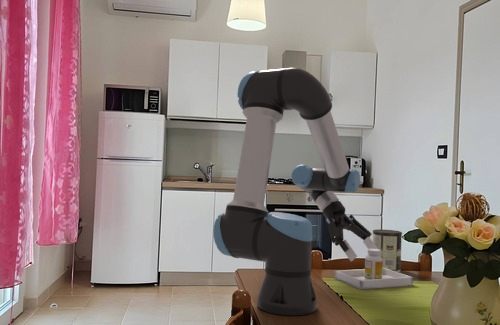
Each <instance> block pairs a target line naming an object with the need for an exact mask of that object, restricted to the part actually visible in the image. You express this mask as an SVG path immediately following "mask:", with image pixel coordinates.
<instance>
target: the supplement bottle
mask: <svg viewBox="0 0 500 325" xmlns="http://www.w3.org/2000/svg"><path fill="white" fill-rule="evenodd" d="M367 254H368V255H365V258H364V259H365V260H364V269H365V279H366V280H373V279H382V257H380V254H381V250H379V249H368V248H367Z"/></svg>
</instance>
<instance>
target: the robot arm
mask: <svg viewBox="0 0 500 325" xmlns="http://www.w3.org/2000/svg"><path fill="white" fill-rule="evenodd" d="M237 98H238V100H237V103H238V105H239V107H240V108H241V110H242V114H243V116H244V117H245V118H246V121H245V122H246V123H245V129H244V134H243V139H242V145H241V150H240V151H241V152H240V158H239V161H238V162H239V163H238V170H237V175H236V181H235V187H234V192H233V193H234V194H233V199H232V200H231V201H230V202H229V203H227V204H226V207H225V211H224V212H222V213H219V215H218V216H217V218H216V219H215V220H214V222H213V223H214V224H213V230H212V231H213V234H212V235H213V239H214V243H215V246H216V248H217V250H218V251H219V252H220V253H221V254H222V255H224V256H228V257H232V258H235V259H245V260H250V261H257V262H264V264H265V265H264V277H263V279H262V282H261V285H260V287H259V291H258V293H257V296H256V306H257V307H258V309H260V310H262V311H263V312H266V313H270V314H275V315H279V316H280V315H281V316H304V315H310V314H312V313H314V312H316V311H317V303H318V302H317V296H316V293H315V288H314V285H313V281H312V278H311V276H312V274H311V272H312V255H313V253H312V250H313V239H314V238H313V225H312V222H311V221H310V220H309V219H307V218H305V217H303V216H300V215H297V214H293V213H292V214H291V213H288V212H287V213H286V212H281V211H279V212H278V211H271V212H269V211H268V209H267V208H266V206H265V201H266V200H265V199H266V193H267V186H268V180H269V174H270V168H271V167H270V166H271V160H272V155H273V154H272V153H273V148H274V140H275V135H276V130H277V124H278V123H279V122H281V121H282V120H283V117H284V112H285V111H291V110H295V111H297V113H299V116H300V118H301V119H303V120H305V121H306V124H307V127H308V129H309V132H310V135H311V137H312V139H313V142H314V145H315V147H316V149H317V150H316V151H317V152H318V155H319V158H320V160H321V163H322V165H323V168H321V167H319V168H318V167H317V168H316V167H315V168H314V167H310V166H308V165H306V164H299V165H297V166H295V167H294V168H293V170H292V172H291V177H290V178H291V181H292V183H293V184H294V185H295V186H296V187H298V188H300V189H302V190H303V191H305V192H306V193H308V195H309V196H310V197H311V198H312V200H313V201H314V203H315V204H316V206H317V207H318V209H319V210H320V211H321V212H322V214H323V217H325V220H324V222H325V224H326V226H327V229H328V232H329V235H330V236H329V237H330V239H331V242H332V243H333V244H334V245H335V246H336V247H337V246H340V249H341V250H342V251H343V252H344V254H345V256H346V257H347V258H348V260H349V261H350V262H353V261H354V260H355V259H356V258H357V257H358V255H357V254H356V252H355V251H354V249H353V247H351V245H350V243H349V242H348V241H347V239H344V230H347V231H350V232H352V233H353V234H354V235H355V236H357V237H358V238H360V239H361V240H363V242H362V243H363V244H364V245H365V246H366V248H367V250H368V249H378V248H377V247H376V245H375V244H374V243H373V239H371V236H373V233H372V232H370V230H368V229H367V228H366V227H365V226H364V225H362V224H361V222H359V221H358V220H357V219H356V218H355V216H354V215H353V214H350V215H349V216H348V215H347V214H346V207H345V205H343V203H342V201H341V200H340V199H339V197H337V195H336V193H337V192H339V193H355V192H357V191H358V190H359V189H360V185H361V184H360V183H361V174H360V171H359V170H357V169H354V168H350V167H349V164H348V160H347V158H346V154H345V151H344V148H343V145H342V143H341V140H340V137H339V132H338V130H337V128H336V124H335V120H334V117H333V115H332V114H333V113H332V109H333V102H332V100H331V98H330V94H329V92H328V91H327V89H326V88H325V86H324V85H323V83H322V82H321V81H320V80H319V79H317V78H316V77H315V75H313V74H311V73H310V72H309V71H307V70H306V69H305V70H304V69H301V68H299V67H287V68H277V69H275V68H274V69H266V70H263V69H259V70H256V71H249V73H246V74H245V75H244V76H243V77H242V78H241V80H240V82H239V84H238V89H237ZM335 192H336V193H335Z"/></svg>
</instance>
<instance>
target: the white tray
mask: <svg viewBox="0 0 500 325" xmlns="http://www.w3.org/2000/svg"><path fill="white" fill-rule="evenodd" d="M334 279H335V280H337V281H339V282H342V283H344V284H347V285H348V286H352V287H354V288H357V289H358V290H370V289H372V290H373V289H381V288H382V289H383V288H384V289H385V288H395V287H407V286H408V285H409V286H413V285H414V277H413V276H410V275H407V274H404V273H402V272H395V271H392V270H389V269H386V268H382V279H373V280H366V279H365V268H362V269H345V270H344V269H343V270H335V271H334Z"/></svg>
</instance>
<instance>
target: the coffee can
mask: <svg viewBox="0 0 500 325" xmlns="http://www.w3.org/2000/svg"><path fill="white" fill-rule="evenodd" d="M402 235H403V232H402V231H400V230H392V229H373V230H372V241H373V243H374V244H375V245H376V247H377V248H378V249H379V250H381V254H380V257H382V268H386V269H389V270H392V271H395V272H398V273H401V271H402V269H401V264H402Z"/></svg>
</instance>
